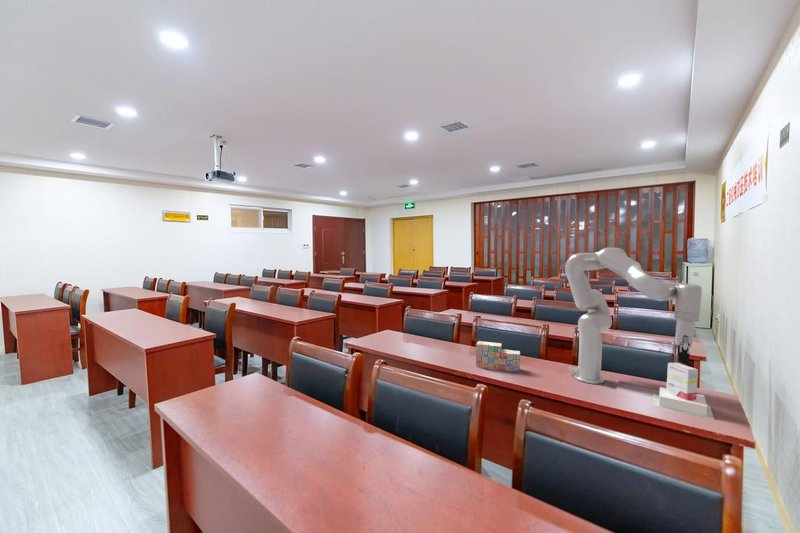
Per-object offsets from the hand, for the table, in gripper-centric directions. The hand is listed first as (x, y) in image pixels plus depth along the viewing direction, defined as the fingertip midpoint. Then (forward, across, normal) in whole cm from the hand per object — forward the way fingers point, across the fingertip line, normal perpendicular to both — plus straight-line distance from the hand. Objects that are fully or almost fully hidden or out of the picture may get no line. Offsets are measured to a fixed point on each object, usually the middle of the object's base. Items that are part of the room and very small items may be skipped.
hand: (682, 359), depth 138 cm
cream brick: (+18, 0, +1) cm, 18 cm away
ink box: (+14, 0, 0) cm, 15 cm away
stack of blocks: (+21, 0, -73) cm, 76 cm away
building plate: (+19, 0, +1) cm, 19 cm away
